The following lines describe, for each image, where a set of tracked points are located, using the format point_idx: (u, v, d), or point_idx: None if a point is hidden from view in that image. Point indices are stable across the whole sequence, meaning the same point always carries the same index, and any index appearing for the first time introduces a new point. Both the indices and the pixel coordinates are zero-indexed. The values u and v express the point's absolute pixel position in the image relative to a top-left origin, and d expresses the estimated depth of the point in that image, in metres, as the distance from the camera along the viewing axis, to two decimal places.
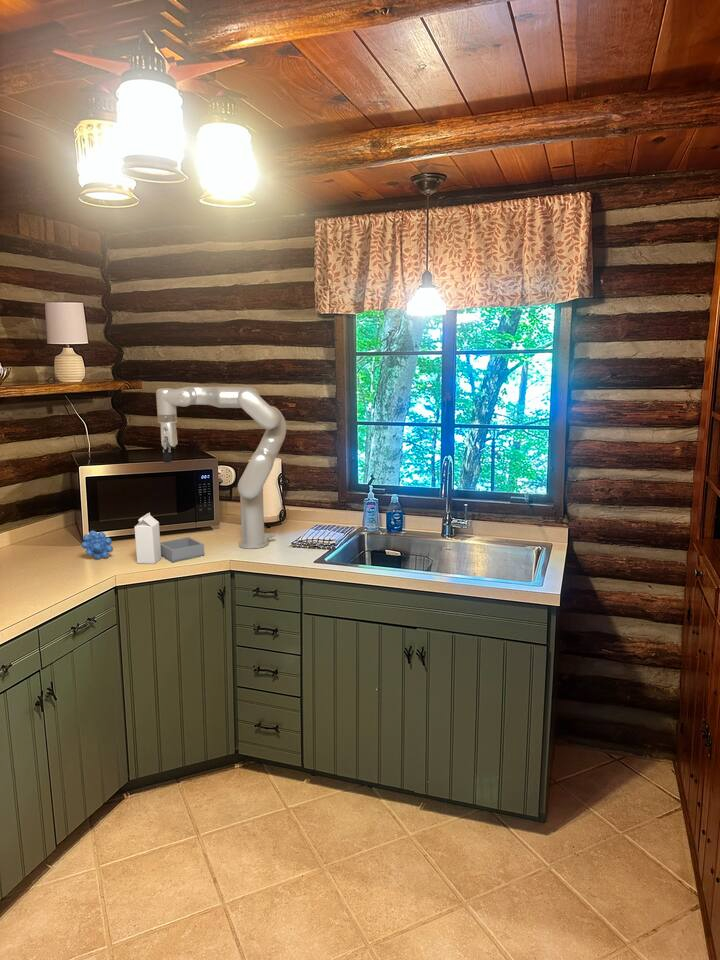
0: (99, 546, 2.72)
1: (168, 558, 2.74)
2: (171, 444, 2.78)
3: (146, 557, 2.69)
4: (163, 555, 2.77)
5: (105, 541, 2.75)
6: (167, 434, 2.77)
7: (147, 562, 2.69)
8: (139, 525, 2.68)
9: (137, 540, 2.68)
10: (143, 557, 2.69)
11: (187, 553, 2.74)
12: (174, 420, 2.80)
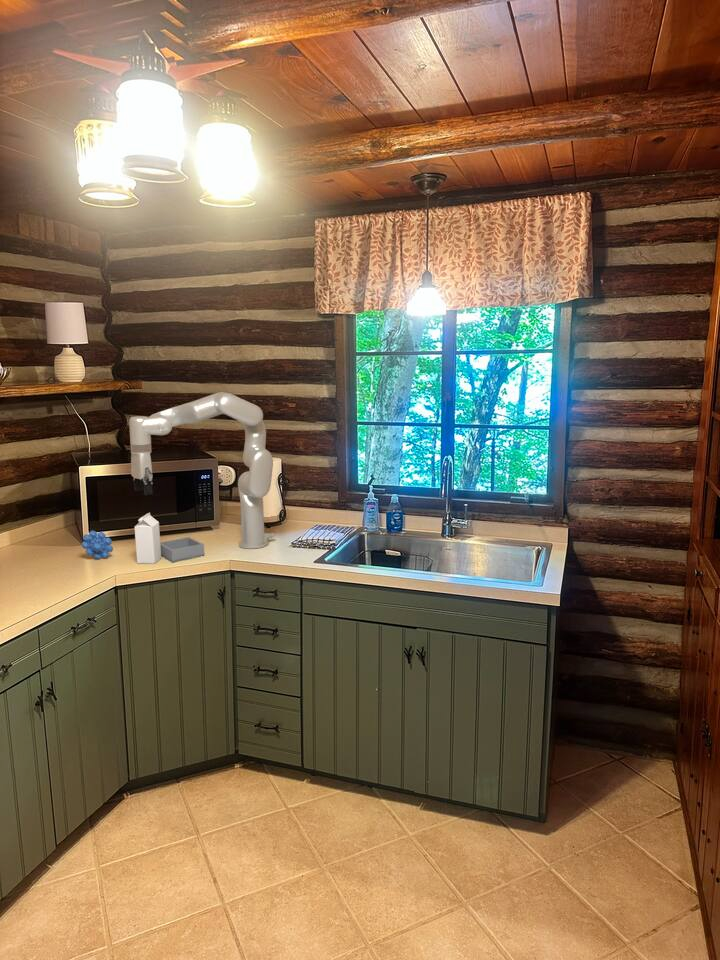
0: (99, 546, 2.72)
1: (168, 558, 2.74)
2: None
3: (146, 557, 2.69)
4: (163, 555, 2.77)
5: (105, 541, 2.75)
6: None
7: (147, 562, 2.69)
8: (139, 525, 2.68)
9: (137, 540, 2.68)
10: (143, 557, 2.69)
11: (187, 553, 2.74)
12: None
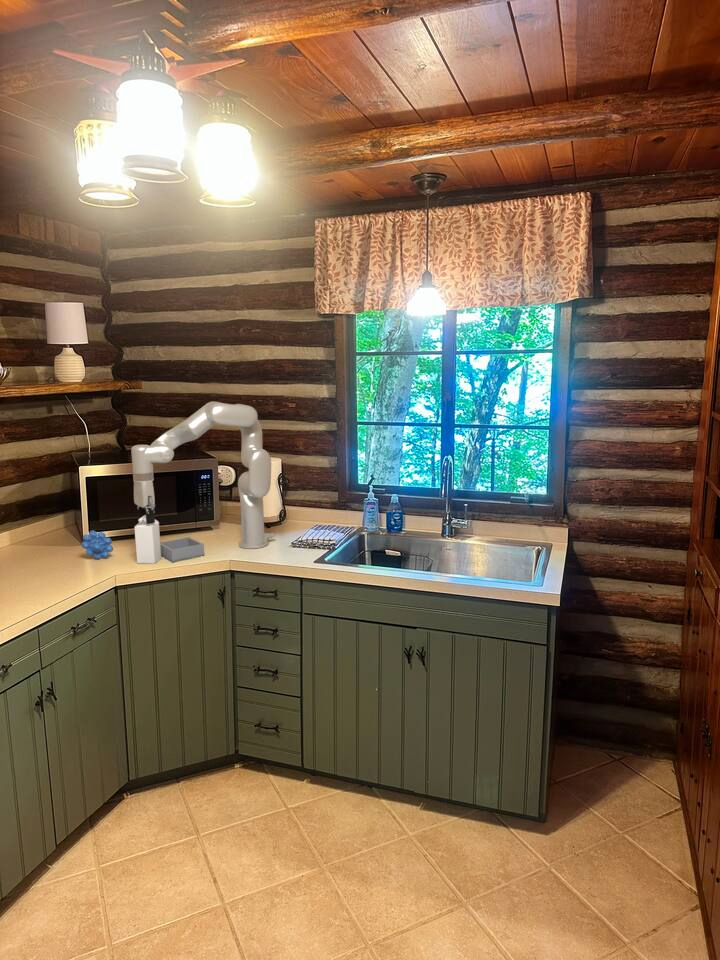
0: (99, 546, 2.72)
1: (168, 558, 2.74)
2: None
3: (146, 557, 2.69)
4: (163, 555, 2.77)
5: (105, 541, 2.75)
6: None
7: (147, 561, 2.69)
8: (139, 525, 2.68)
9: (137, 540, 2.68)
10: (143, 557, 2.69)
11: (187, 553, 2.74)
12: None
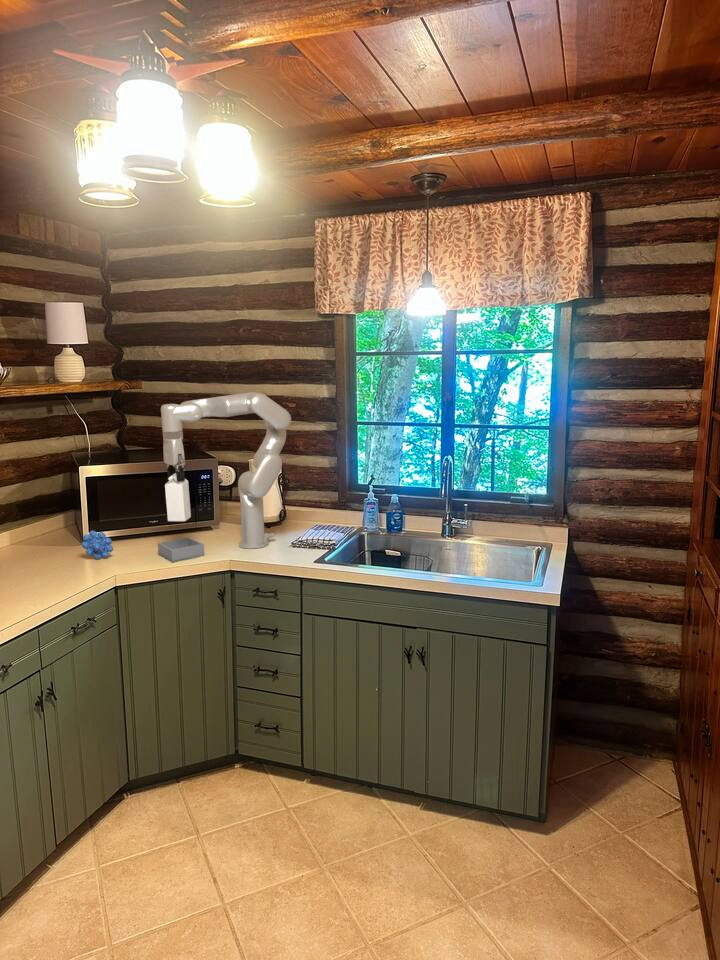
0: (99, 546, 2.72)
1: (168, 558, 2.74)
2: None
3: (177, 515, 2.73)
4: (163, 555, 2.77)
5: (105, 541, 2.75)
6: None
7: (177, 519, 2.74)
8: (169, 483, 2.72)
9: (167, 498, 2.72)
10: (173, 515, 2.73)
11: (187, 553, 2.74)
12: None
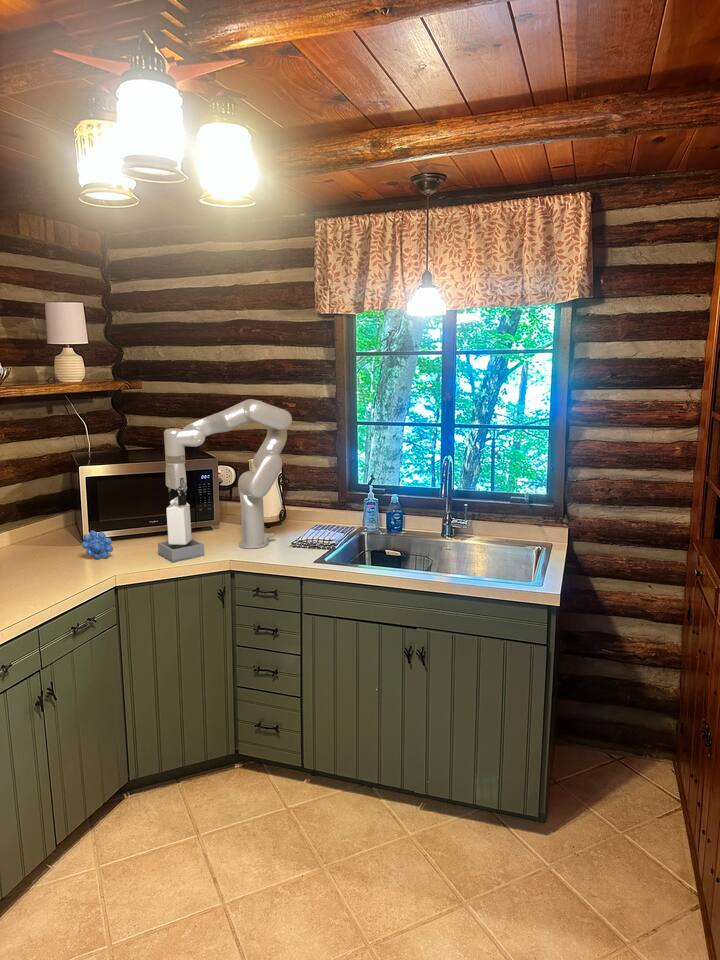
0: (99, 546, 2.72)
1: (168, 558, 2.74)
2: None
3: (177, 539, 2.75)
4: (163, 555, 2.77)
5: (105, 541, 2.75)
6: None
7: (178, 543, 2.75)
8: (171, 507, 2.74)
9: (169, 521, 2.74)
10: (174, 538, 2.75)
11: (187, 553, 2.74)
12: None
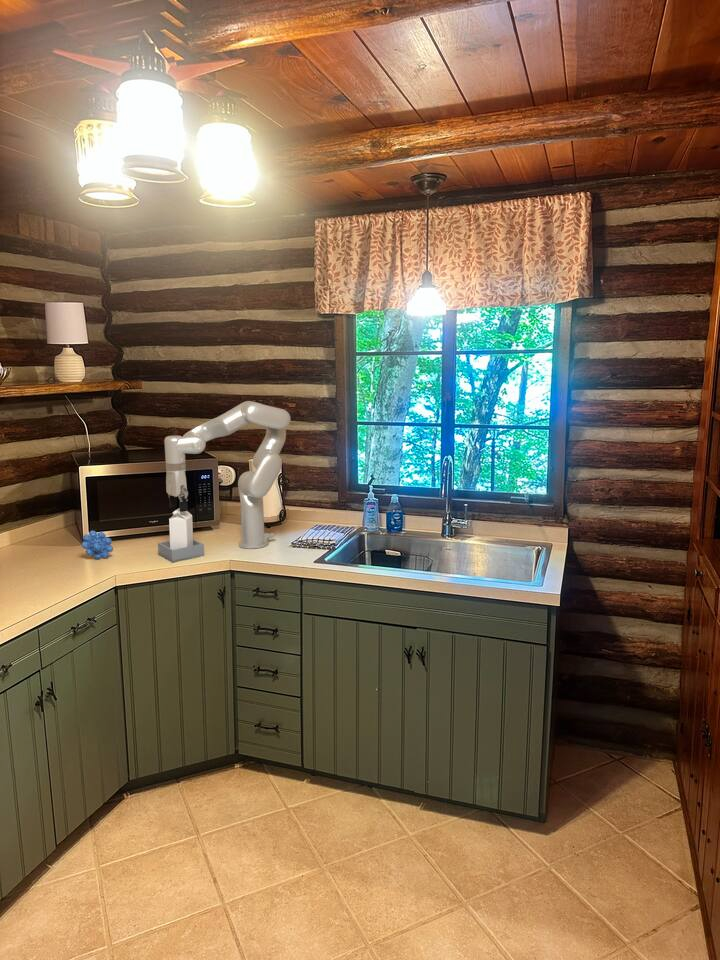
0: (99, 546, 2.72)
1: (168, 558, 2.74)
2: None
3: None
4: (163, 555, 2.77)
5: (105, 541, 2.75)
6: None
7: None
8: (173, 517, 2.75)
9: (171, 532, 2.75)
10: (176, 548, 2.76)
11: (187, 553, 2.74)
12: None
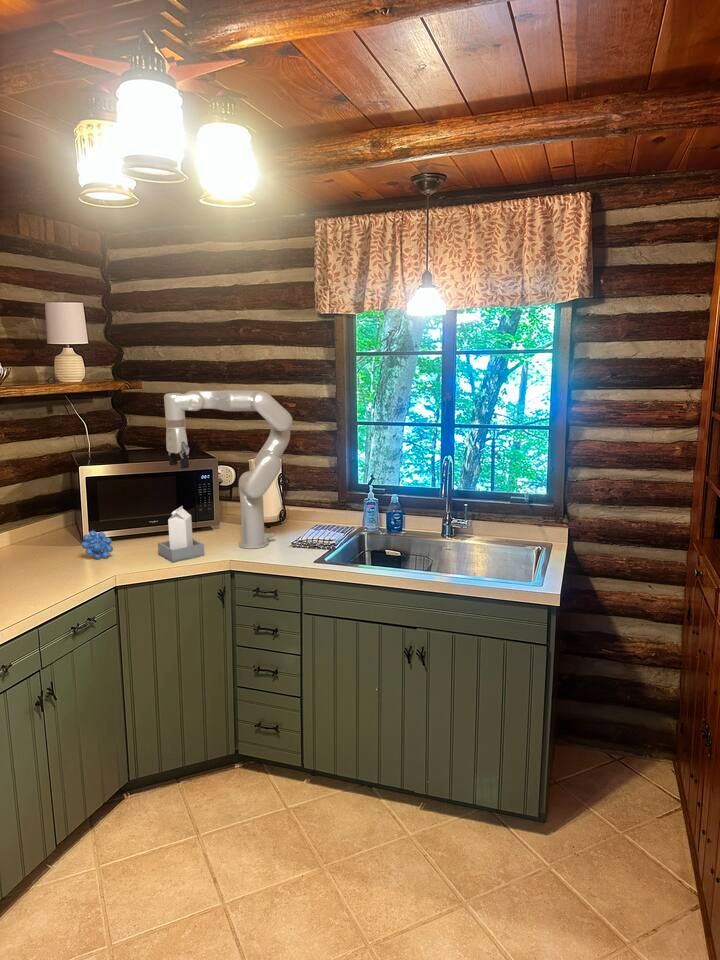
0: (99, 546, 2.72)
1: (168, 558, 2.74)
2: None
3: None
4: (163, 555, 2.77)
5: (105, 541, 2.75)
6: None
7: None
8: (172, 518, 2.75)
9: (170, 533, 2.75)
10: None
11: (187, 553, 2.74)
12: (166, 426, 2.74)
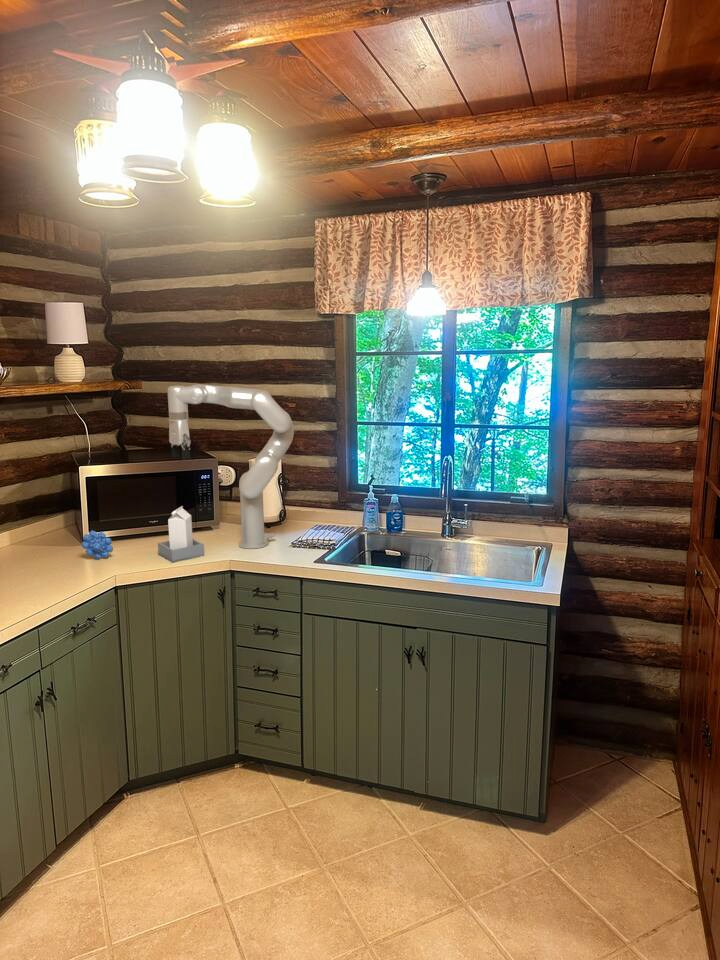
0: (99, 546, 2.72)
1: (168, 558, 2.74)
2: None
3: None
4: (163, 555, 2.77)
5: (105, 541, 2.75)
6: None
7: None
8: (172, 518, 2.75)
9: (170, 533, 2.75)
10: None
11: (187, 553, 2.74)
12: None
